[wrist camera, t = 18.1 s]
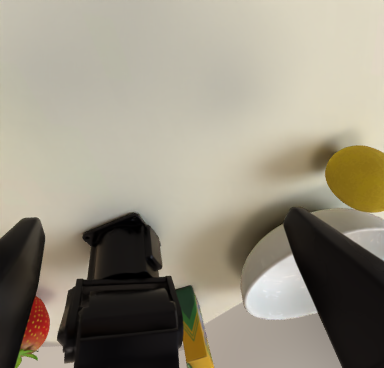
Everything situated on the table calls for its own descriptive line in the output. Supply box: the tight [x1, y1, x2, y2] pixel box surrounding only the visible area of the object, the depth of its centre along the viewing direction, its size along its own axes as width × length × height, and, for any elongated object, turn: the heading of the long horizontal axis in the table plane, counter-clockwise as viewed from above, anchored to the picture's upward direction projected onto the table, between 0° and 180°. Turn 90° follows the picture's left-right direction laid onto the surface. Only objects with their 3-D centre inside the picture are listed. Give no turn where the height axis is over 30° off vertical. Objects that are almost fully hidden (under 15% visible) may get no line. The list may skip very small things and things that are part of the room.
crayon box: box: [176, 286, 214, 368], centre depth 37 cm, size 7×3×12 cm, turn 11°
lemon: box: [325, 146, 384, 213], centre depth 24 cm, size 6×6×8 cm
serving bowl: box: [241, 208, 384, 320], centre depth 34 cm, size 21×21×7 cm
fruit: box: [15, 296, 50, 368], centre depth 29 cm, size 5×5×8 cm
